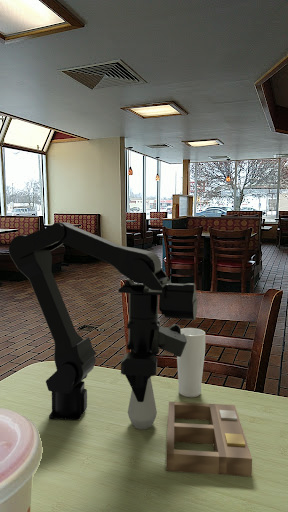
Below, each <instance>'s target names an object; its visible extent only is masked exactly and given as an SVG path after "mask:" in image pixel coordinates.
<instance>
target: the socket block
mask: <svg viewBox="0 0 288 512" xmlns="http://www.w3.org/2000/svg"><path fill="white" fill-rule="evenodd" d="M167 410H168V411H167V433H166V434H167V435H166V436H167V437H166V438H167V439H166V463H165V464H166V466H165V467H166V468H165V469H166V470H165V471H167V472H178V473H190V474H191V473H193V474H206V475H221V476H222V475H223V476H237V477H250V478H251V477H252V476H253V475H252V474H253V473H252V471H253V457H252V453H251V451H250V447H249V445H248V442H247V438H246V436H245V433H244V429H243V427H242V426H243V425H242V423H241V419H240V417H239V414H238V413H239V412H238V410H237V408H236V405H235V404H225V403H222V404H221V403H203V402H202V403H201V402H185V401H168V409H167ZM175 420H195V421H209V424H203V423H202V424H200V423H183V422H182V423H181V422H175ZM175 443H185V444H186V443H189V444H204V445H205V444H206V445H213V449H214V451H207V450H203V451H202V450H190V449H188V450H187V449H175Z"/></svg>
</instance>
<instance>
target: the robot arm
mask: <svg viewBox="0 0 288 512" xmlns="http://www.w3.org/2000/svg"><path fill="white" fill-rule="evenodd" d="M62 245H66V246H67V247H70V248H73V249H75V250H77V251H79V252H82V253H84V254H86V255H89V256H91V257H94V258H96V259H98V260H100V261H103V262H105V263H108V264H109V265H111V266H112V267H113V268H114V269H116V271H117V272H118V273H120V274H121V275H123V276H124V277H125V278H127V280H126V281H125V283H124V284H123V285H122V286H121V287H120V288H119V289H118V291H117V292H118V293H121V294H128V322H127V324H126V325H127V326H126V328H127V329H128V342H127V344H126V350H130V351H128V352H126V354H125V355H124V356H123V357H122V360H121V362H120V374H121V375H123V376H125V378H126V379H127V381H128V383H129V385H130V387H131V391H132V390H133V392H134V394H135V397H136V399H137V401H138V402H143V401H144V397H145V392H146V387H147V382H148V379H149V378H150V377H151V378H152V377H154V376H156V375H157V370H158V357H156V356H157V355H158V354H159V353H160V349H161V350H163V351H164V352H168V353H170V354H173V356H175V357H177V356H178V357H181V355H182V353H183V350H184V348H185V345H186V343H187V338H186V336H185V335H184V334H181V330H180V329H181V326H180V325H178V324H176V323H173V324H172V325H170V326H169V327H167V326H166V327H164V326H161V320H160V319H159V312H160V315H164V317H165V319H166V318H167V319H180V320H191V321H195V320H196V319H197V314H198V312H197V311H198V298H197V290H196V284H195V283H194V282H193V283H191V282H188V283H176V282H175V283H174V282H173V283H172V281H171V280H170V277H168V275H167V274H166V272H165V271H164V270H163V269H162V261H161V259H160V257H159V256H158V254H156V253H155V252H153V251H149V250H146V249H141V248H138V247H137V248H135V247H129V246H125V245H120V244H118V243H115V242H112V241H110V240H108V239H106V238H103V237H101V236H98V235H96V234H93V233H91V232H89V231H86V230H84V229H82V228H79V227H77V226H74V225H73V224H72V223H70V222H63V221H62V222H61V221H60V222H54V223H52V224H51V225H49V226H47V227H44V228H41V229H40V230H37V231H35V232H32V233H29V234H22V235H21V234H19V235H16V236H15V237H13V238H12V239H11V241H10V243H9V246H8V254H9V256H10V259H11V260H12V261H13V263H14V265H15V266H16V268H17V270H18V271H20V273H22V274H23V276H25V277H26V278H27V279H28V280H29V282H30V285H31V288H32V290H33V292H34V295H35V298H36V300H37V302H38V305H39V307H40V309H41V312H42V315H43V317H44V320H45V322H46V324H47V328H48V329H49V331H50V332H49V333H50V334H51V337H52V339H53V342H54V353H53V354H54V356H53V357H54V358H53V360H54V364H55V367H56V371H55V372H54V373H52V375H51V376H49V378H47V379H46V380H45V384H46V387H47V390H48V391H49V392H51V412H50V413H49V415H48V417H49V418H48V419H53V420H67V421H68V420H71V421H79V420H81V418H82V416H83V414H84V413H85V412H86V410H87V407H88V389H87V388H85V381H84V379H86V378H87V377H88V374H90V372H92V371H93V369H94V367H95V365H96V362H97V361H96V356H95V355H97V351H96V350H94V347H93V345H92V342H91V338H90V337H89V336H88V337H85V338H83V337H81V335H80V334H78V332H77V331H76V328H75V326H74V324H73V321H72V318H71V316H70V313H69V311H68V309H67V306H66V304H65V301H64V299H63V296H62V294H61V292H60V289H59V287H58V284H57V281H56V279H55V276H54V274H53V272H52V267H53V256H52V251H54V250H55V249H57V248H59V247H60V246H62Z"/></svg>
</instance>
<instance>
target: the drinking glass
mask: <svg viewBox="0 0 288 512" xmlns="http://www.w3.org/2000/svg"><path fill="white" fill-rule="evenodd" d="M180 330H181V334H184V335H185V336H186V338H187V343H186V345H185V348H184V350H183V353H182V355H181V357H178V356H176V362H177V378H178V379H177V380H178V381H177V382H178V394H180V395H181V396H183V397H185V398H197V397H198V396H200V395H201V393H202V382H203V380H202V379H203V371H204V363H205V353H206V332H205V331H204V329H203V330H202V329H200V328H196V327H195V328H194V327H185V328H180Z"/></svg>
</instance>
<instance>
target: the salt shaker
mask: <svg viewBox="0 0 288 512" xmlns="http://www.w3.org/2000/svg"><path fill="white" fill-rule="evenodd" d="M129 397H130V398H129V402H128V403H129V404H128V407H127V415H128V419H129V421H130V422H131V424H132V427H134V428H135V429H136V430H137V429H138V430H146V429H150V428H152V427H153V426H154V422H155V420H156V418H157V413H158V411H157V406H156V399H155V394H154V389H153V383H152V376H151V377H150V378H149V379H148V382H147V387H146V392H145V397H144V401H143V402H138V401H137V399H136V397H135V394H134V392H133V390H132V389H131V393H130V396H129Z"/></svg>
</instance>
